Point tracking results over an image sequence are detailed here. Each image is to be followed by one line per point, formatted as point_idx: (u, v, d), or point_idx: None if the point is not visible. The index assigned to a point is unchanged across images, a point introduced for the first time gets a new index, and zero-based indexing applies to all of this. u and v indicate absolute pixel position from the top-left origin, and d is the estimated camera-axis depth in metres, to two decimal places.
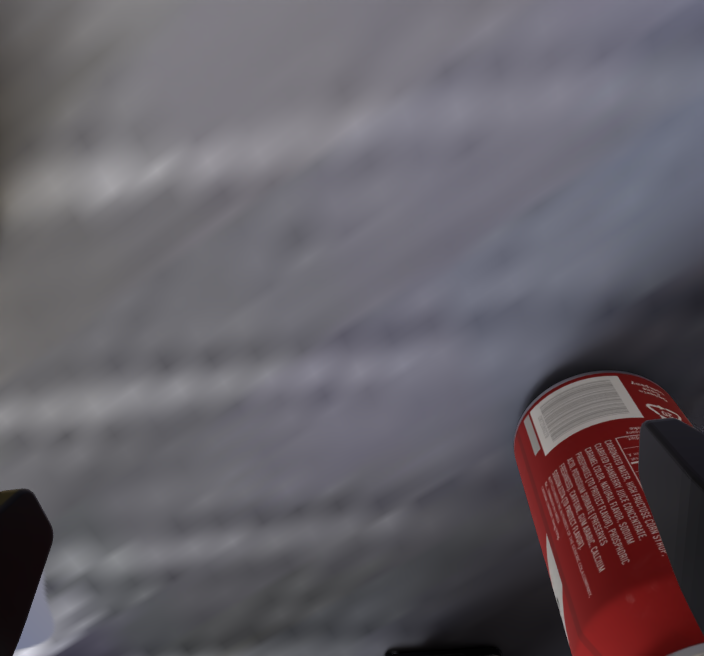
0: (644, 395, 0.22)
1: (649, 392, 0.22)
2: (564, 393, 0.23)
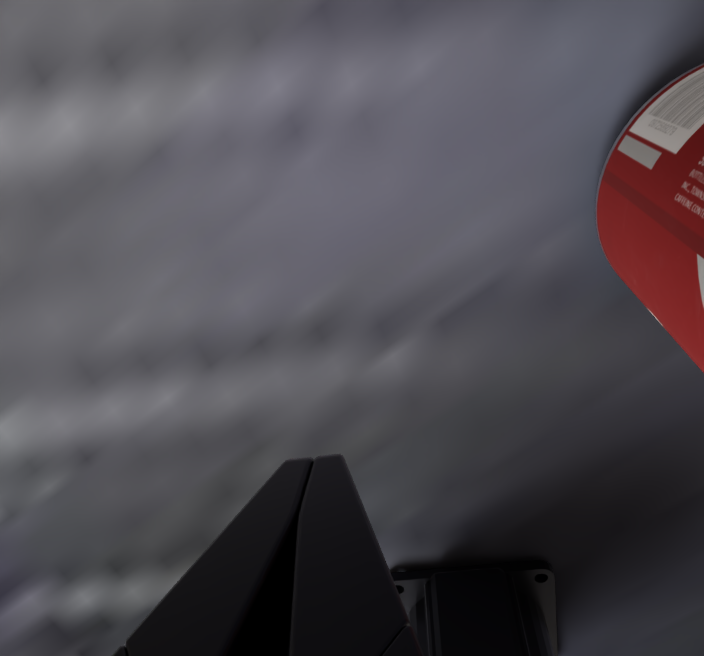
0: None
1: None
2: (694, 78, 0.14)
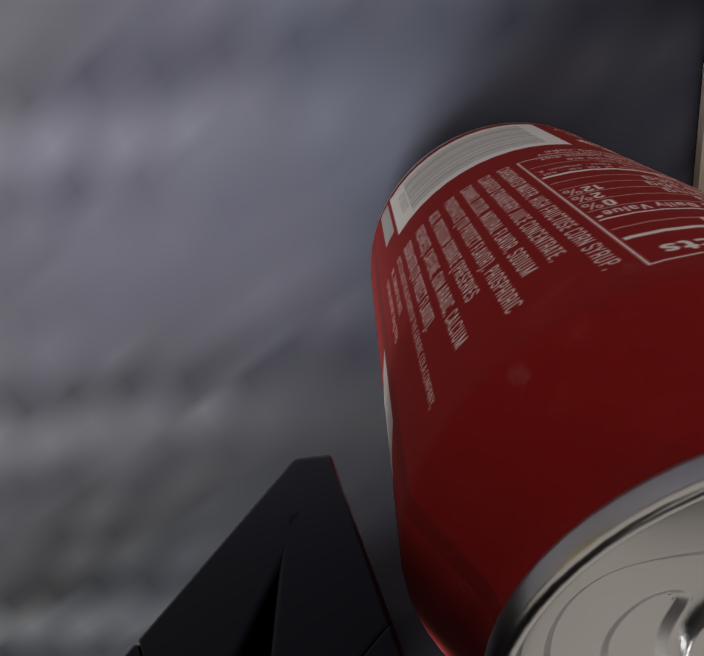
0: (575, 136, 0.13)
1: None
2: (442, 152, 0.13)
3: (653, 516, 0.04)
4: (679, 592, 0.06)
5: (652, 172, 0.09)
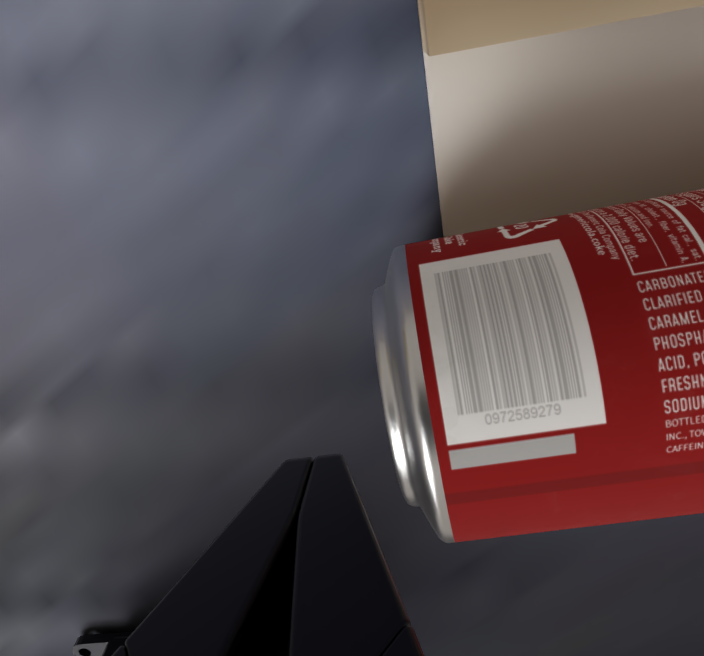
0: (475, 240, 0.12)
1: (458, 239, 0.13)
2: (456, 349, 0.11)
3: None
4: None
5: (667, 206, 0.12)
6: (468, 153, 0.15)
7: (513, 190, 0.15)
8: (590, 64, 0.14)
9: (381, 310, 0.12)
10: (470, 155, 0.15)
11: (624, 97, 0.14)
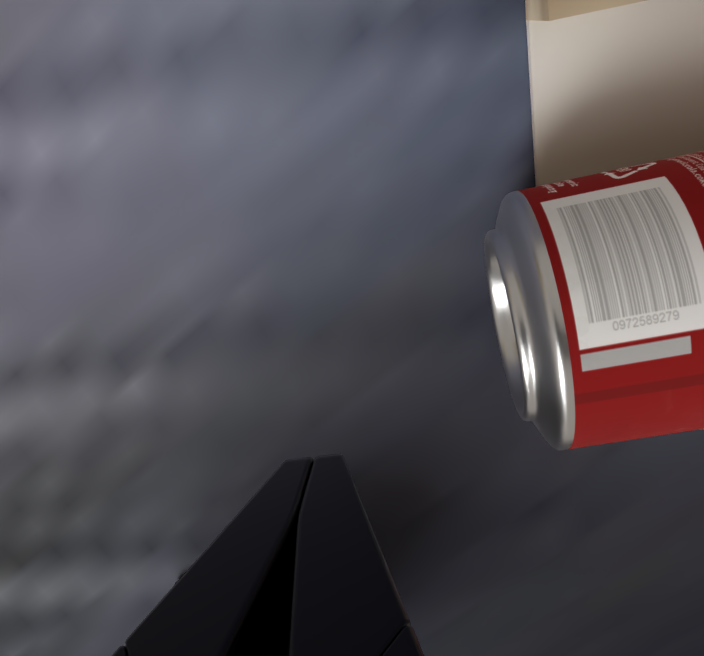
0: (586, 182, 0.14)
1: (569, 182, 0.14)
2: (585, 268, 0.12)
3: None
4: None
5: None
6: (563, 112, 0.16)
7: (602, 145, 0.17)
8: (676, 29, 0.15)
9: (504, 245, 0.14)
10: (565, 114, 0.16)
11: None
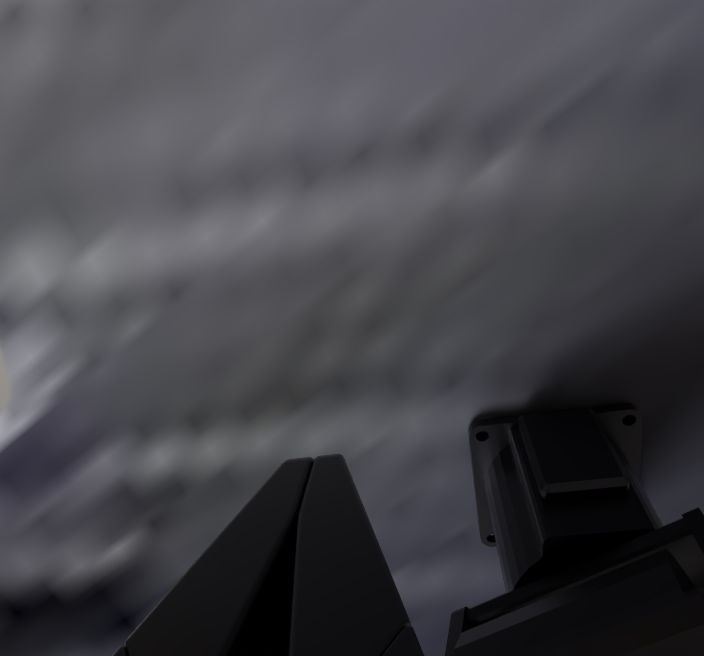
0: None
1: None
2: None
3: None
4: None
5: None
6: None
7: None
8: None
9: None
10: None
11: None
